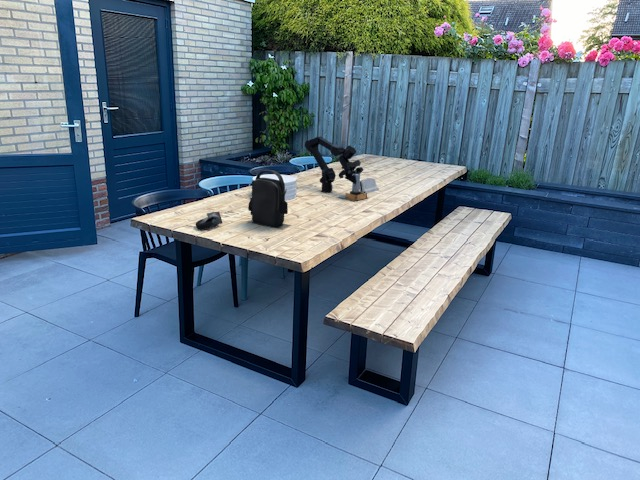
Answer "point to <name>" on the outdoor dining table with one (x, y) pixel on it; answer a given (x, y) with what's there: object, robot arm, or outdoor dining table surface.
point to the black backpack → (268, 201)
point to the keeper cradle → (355, 197)
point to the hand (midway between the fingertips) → (357, 183)
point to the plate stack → (289, 184)
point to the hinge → (368, 185)
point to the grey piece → (356, 186)
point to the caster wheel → (209, 221)
